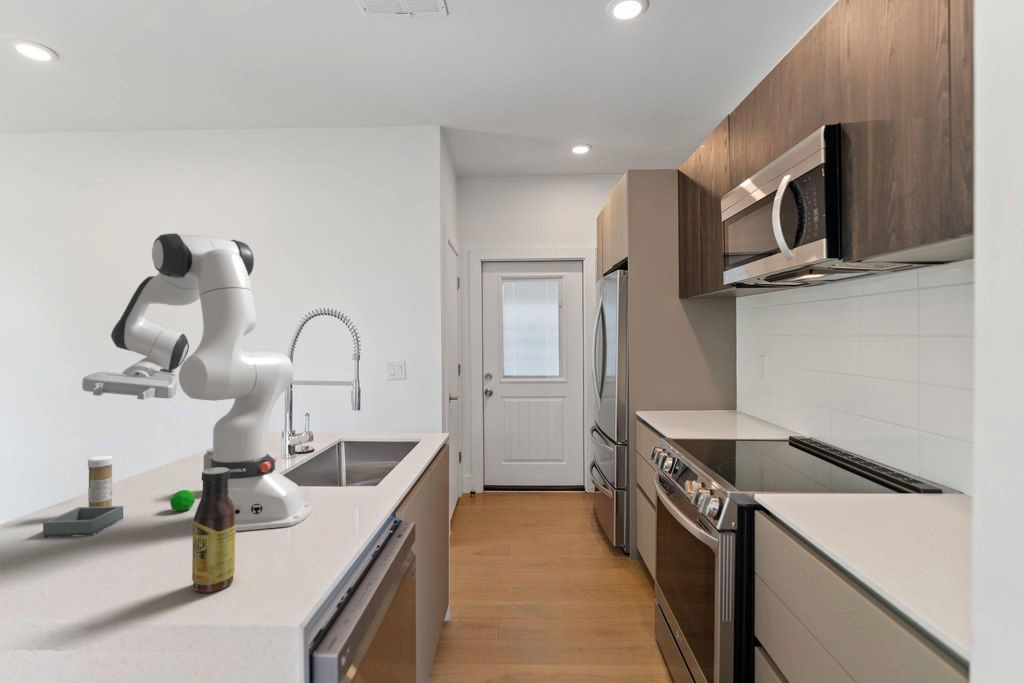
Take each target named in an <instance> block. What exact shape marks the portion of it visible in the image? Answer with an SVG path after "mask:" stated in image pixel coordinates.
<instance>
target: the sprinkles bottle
mask: <svg viewBox="0 0 1024 683" xmlns="http://www.w3.org/2000/svg"><path fill="white" fill-rule="evenodd" d="M113 461H114V460H113V456H112V455H97V456H92V457H89V458H88V459H87V467H88V493H87V494H88V496H87V497H88V499H87V500H88V507H110V506H113V502H112V500H113V470H112V469H113V463H114V462H113Z"/></svg>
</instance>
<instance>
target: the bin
mask: <svg viewBox="0 0 1024 683" xmlns="http://www.w3.org/2000/svg"><path fill="white" fill-rule="evenodd" d="M121 519H123V520H124V506H123V505H121V506H119V505H117V506H113V505H112V506H110V507H89V506H78V507H76V508H74V509H71V510H69V511H66V512H64V513H62V514H60V515H57V516H55V517H52V518H51V519H49V520H46V521H44V522H43V524H42V535H43V536H60V537H74V536H73V535H92V536H94V535H95V534H94V533H96V534H98V533H99V532H98V531H100V530H102V529H104V528H106V527H108V526H109V527H111V526H113V525H115V524H116V523H115V522H117V521H119V520H121ZM121 521H122V520H121ZM119 522H120V521H119ZM114 523H115V524H114ZM117 523H118V522H117ZM112 524H113V525H112ZM110 525H111V526H110ZM109 527H108V528H109ZM106 529H107V528H106ZM104 530H105V529H104ZM102 531H103V530H102ZM97 532H98V533H97ZM100 532H101V531H100ZM93 534H94V535H93ZM43 536H42V537H43Z"/></svg>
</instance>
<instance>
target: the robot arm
mask: <svg viewBox="0 0 1024 683" xmlns="http://www.w3.org/2000/svg"><path fill="white" fill-rule="evenodd" d="M151 259H152V262H153V266H154V268H155V270H156V271H157V272H158V274H157V275H150V276H147V277H146V278H144V280H142V282H140V284H139V285H138V287H136V289H135V291H134V293H133V295H132V296H131V298H130V300H129V302H128V304H127V305H126V308H125V309H124V311H123V313H122V315H121V317H119V318H120V319H119V320H118V321H117V322H116V324H115V325H114V326H113V328H112V330H111V333H110V338H111V340H112V342H113V343H114V345H115V346H116V348H118V349H121V350H125V351H129V352H134V353H136V354H139V355H142V356H145V357H144V358H142V359H140V360H139V361H137V362H135V363H133V364H132V365H130V366H128V367H127V368H125V369H124V370H123V371H122V372H111V371H99V372H98V371H97V372H95V373H94V372H93V373H91V374H88V375H86V376H84V377H83V378H82V383H81V384H82V385H81V386H82V390H83V391H84V392H88V393H89V392H90V393H92V395H93V396H102V395H103V394H112V395H122V396H125V395H126V396H134V397H135V396H136V399H137V400H145V399H149V398H156V399H172V398H174V396H176V391H177V389H178V388H177V387H178V383H179V385H180V388H181V390H182V392H183V393H184V394H185V395H186V396H187V397H189V398H191V399H194V400H200V401H201V400H202V401H224V400H231V399H234V402H233V403H232V404H233V405H232V407H231V408H230V409H229V411H228V412H227V413H226V414H225V415H224V416H222V417H221V418H219V419H218V420H217V421H216V422H215V424H214V426H213V430H212V439H213V440H212V448H213V459H212V460H211V468H216V467H225V468H228V469H229V472H230V474H229V475H230V476H229V479H228V491H229V493H228V496H229V498H230V499H231V500H232V502H233V504H234V506H235V522H236V529H235V532H240V531H250V530H253V531H254V530H262V529H263V530H264V529H273V528H274V529H276V528H285V527H292V526H294V525H297V524H298V523H301V522H302V521H303V520H305V519H306V518H307V517H308V516H309V515H310V514H311V512H312V505H311V503H310V502H304V501H303V500H302V493H301V490H300V487H299V485H298V484H297V483H296V482H294V481H292V480H291V479H290V478H288V477H286V476H284V475H283V474H282V473H280V472H279V471H277V470H276V463H277V462H278V460H277V459H278V456H274V458H273V457H272V456H271V455H269V454H268V453H267V450H268V449H267V448H268V431H269V430H268V429H269V422H270V421H269V420H270V416H271V414H272V412H273V408H274V406H275V404H276V402H277V400H278V399H279V397H280V396H281V395H282V394H283V392H284V391H286V389H288V387H290V386H291V384H292V381H293V379H294V374H295V373H294V372H295V370H294V365H293V362H292V360H291V359H290V358H289V357H288V356H287V355H286V354H285V353H282V352H278V351H272V350H267V349H265V350H264V349H263V350H243V347H242V346H243V345H242V341H243V337H244V336H246V335H247V334H249V333H250V332H252V331H253V330H254V329H255V327H256V325H257V324H258V314H257V310H256V304H255V298H254V292H253V286H252V284H251V279H250V277H249V276H250V275H251V274H252V272H253V270H254V265H255V263H254V262H255V258H254V253H253V251H252V249H251V248H250V246H249V245H248V244H247V243H244V242H242V241H240V240H237V239H230V240H229V239H227V238H221V237H214V236H207V235H205V234H204V235H203V234H202V235H201V234H178V233H176V232H175V233H174V232H173V233H165V234H164V233H163V234H160V235H158V236H157V237H156V239H155V240H154V242H153V245H152V248H151ZM199 300H200V307H201V315H202V325H203V326H202V328H203V329H202V330H203V331H202V335H201V339H200V342H199V344H198V346H197V348H196V349H195V351H193V353H191V355H190V356H188V357H187V355H188V353H189V349H190V343H189V340H188V338H187V336H186V335H185V334H184V333H182V332H181V331H177V330H175V329H173V328H169V327H166V326H164V325H161V324H158V323H155V322H153V321H150V320H148V319H147V318H146V317H144V315H145V313H146V311H147V310H148V309H149V306H150V305H154V304H158V305H160V304H161V305H167V306H176V307H177V306H178V307H179V306H186V305H191V304H193V303H195V302H197V301H199ZM186 357H187V358H186ZM179 367H180V368H179ZM178 368H179V372H177V371H176V369H178Z"/></svg>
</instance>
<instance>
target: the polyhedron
mask: <svg viewBox="0 0 1024 683" xmlns="http://www.w3.org/2000/svg"><path fill="white" fill-rule="evenodd" d="M169 501H170V507H171V509H172V510H174V511H175V512H178V511H183V512H185V510H186V511H187V510H189V509H191V508H192V507H193V505H194V504H195V501H196V498H195V495H194V493H193V492H192V491H190V490H188V489H181V490H179V491H176V492H175V493H173V495H172V496H171V499H170V500H169Z"/></svg>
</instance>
